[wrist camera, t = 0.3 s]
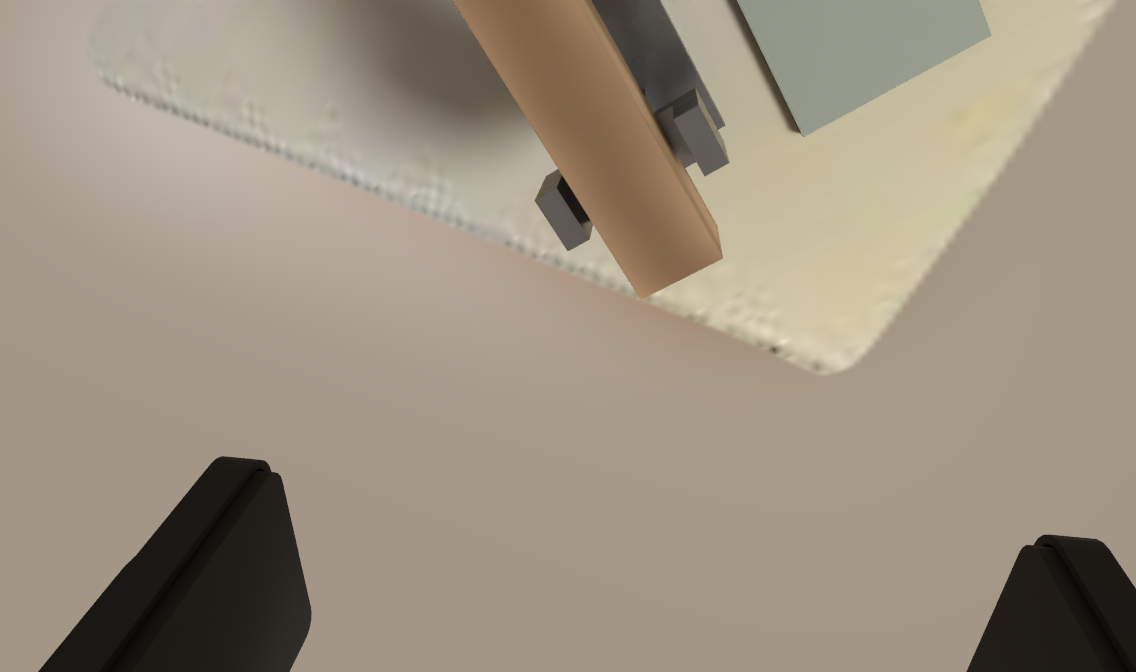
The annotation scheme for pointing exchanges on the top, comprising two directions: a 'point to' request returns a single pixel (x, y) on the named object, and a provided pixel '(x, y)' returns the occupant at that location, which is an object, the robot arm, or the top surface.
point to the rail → (599, 134)
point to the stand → (669, 90)
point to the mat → (855, 48)
